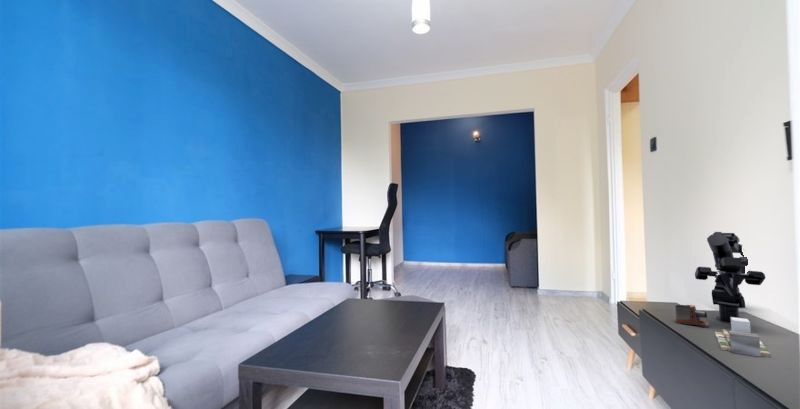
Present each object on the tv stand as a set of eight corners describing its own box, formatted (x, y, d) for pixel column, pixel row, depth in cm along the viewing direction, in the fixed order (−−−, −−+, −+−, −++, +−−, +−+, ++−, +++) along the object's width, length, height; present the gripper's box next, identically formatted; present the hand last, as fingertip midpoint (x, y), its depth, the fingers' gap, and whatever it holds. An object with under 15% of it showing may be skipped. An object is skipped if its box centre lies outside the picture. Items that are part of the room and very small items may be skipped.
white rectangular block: (717, 338, 115) (715, 315, 115) (748, 343, 110) (747, 318, 111) (718, 342, 112) (717, 318, 112) (751, 347, 107) (749, 322, 107)
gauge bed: (714, 334, 122) (713, 317, 122) (758, 340, 115) (756, 322, 115) (722, 350, 108) (720, 332, 108) (771, 358, 102) (770, 338, 102)
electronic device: (708, 328, 128) (706, 308, 128) (675, 323, 135) (674, 304, 135) (709, 325, 131) (707, 306, 131) (677, 320, 138) (675, 302, 138)
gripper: (697, 246, 131) (705, 281, 122) (764, 250, 122) (777, 288, 113) (691, 261, 138) (698, 295, 130) (754, 266, 129) (765, 303, 120)
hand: (733, 295), depth 123 cm, fingers closed
